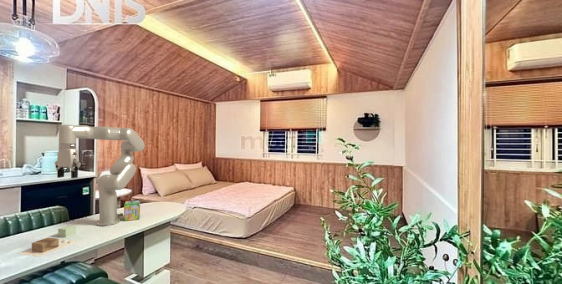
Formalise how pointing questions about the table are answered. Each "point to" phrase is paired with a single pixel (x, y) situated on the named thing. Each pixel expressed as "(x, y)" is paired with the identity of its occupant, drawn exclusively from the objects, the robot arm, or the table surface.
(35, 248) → the walnut block
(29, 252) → the snap baseplate
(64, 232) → the sage block
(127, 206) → the chalk box
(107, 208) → the robot arm
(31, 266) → the table surface
